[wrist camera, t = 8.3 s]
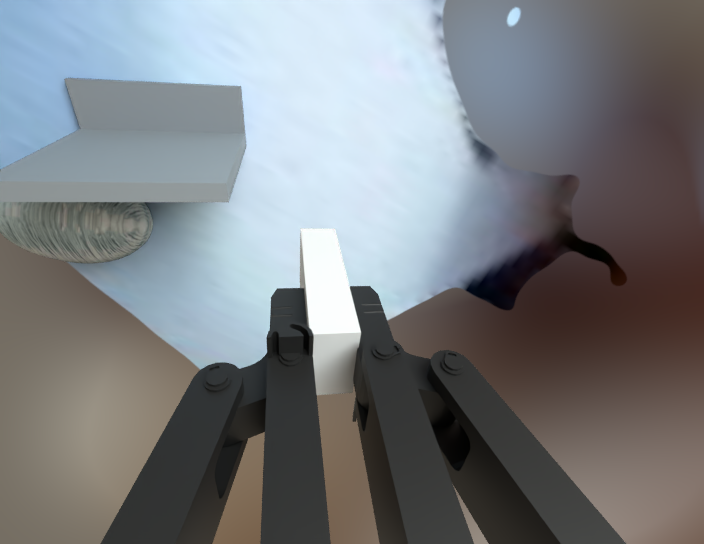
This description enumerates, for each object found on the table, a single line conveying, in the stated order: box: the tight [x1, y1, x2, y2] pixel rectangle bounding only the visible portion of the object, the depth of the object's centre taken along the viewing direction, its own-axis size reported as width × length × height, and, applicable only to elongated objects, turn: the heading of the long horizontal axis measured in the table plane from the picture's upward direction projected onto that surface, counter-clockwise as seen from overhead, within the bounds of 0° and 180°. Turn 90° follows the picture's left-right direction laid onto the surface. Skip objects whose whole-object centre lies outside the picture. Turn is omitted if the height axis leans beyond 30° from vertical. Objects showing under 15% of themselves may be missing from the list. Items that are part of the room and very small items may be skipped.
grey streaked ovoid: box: [0, 202, 153, 263], centre depth 39 cm, size 14×10×10 cm
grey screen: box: [0, 78, 246, 202], centre depth 32 cm, size 6×16×16 cm, turn 86°
